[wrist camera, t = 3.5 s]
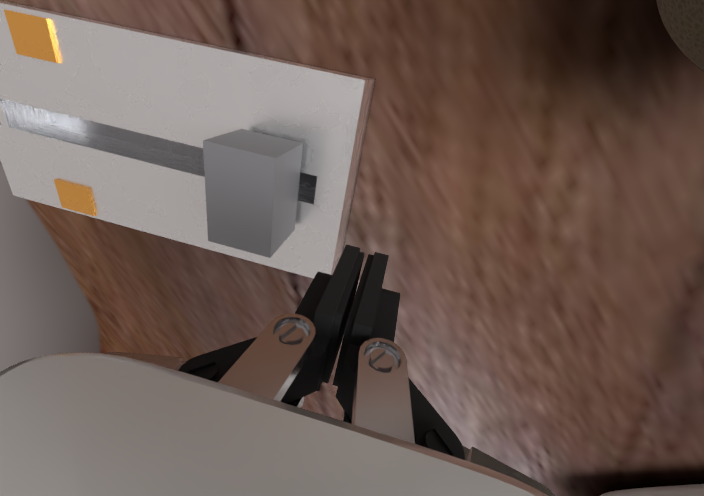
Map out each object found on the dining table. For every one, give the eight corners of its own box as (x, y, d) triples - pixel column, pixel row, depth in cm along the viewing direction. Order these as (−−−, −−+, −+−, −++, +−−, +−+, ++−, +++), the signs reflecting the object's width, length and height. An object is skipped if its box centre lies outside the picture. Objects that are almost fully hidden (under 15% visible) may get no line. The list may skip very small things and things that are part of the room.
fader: (318, 134, 23) (276, 157, 16) (309, 212, 26) (270, 257, 19) (264, 121, 23) (202, 140, 17) (261, 200, 26) (208, 240, 20)
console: (375, 78, 21) (364, 80, 18) (341, 257, 28) (328, 284, 25) (8, 1, 24) (-67, -11, 21) (59, 181, 31) (10, 196, 28)
